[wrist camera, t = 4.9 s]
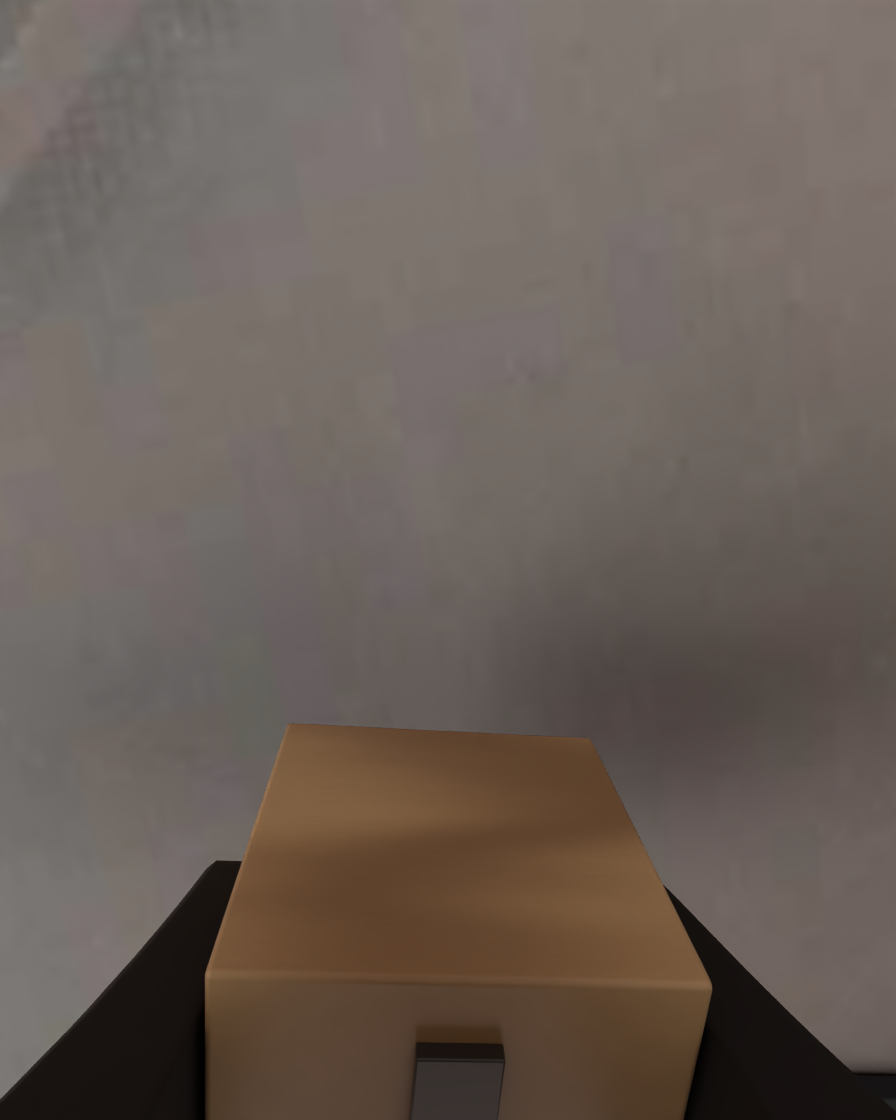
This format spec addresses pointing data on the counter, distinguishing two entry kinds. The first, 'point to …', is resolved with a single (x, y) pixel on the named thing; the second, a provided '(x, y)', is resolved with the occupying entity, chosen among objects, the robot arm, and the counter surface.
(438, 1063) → the tile
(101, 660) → the counter surface
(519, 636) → the counter surface
